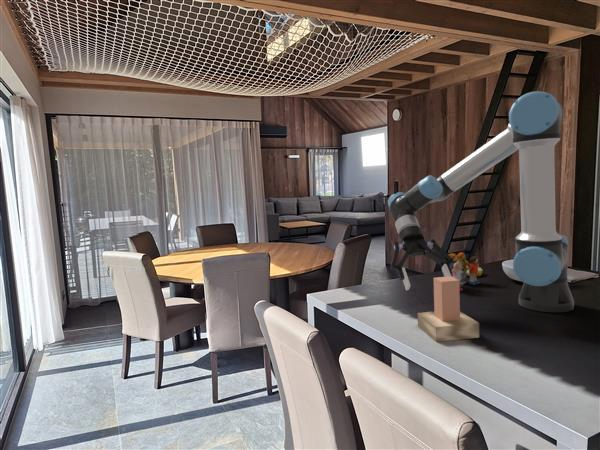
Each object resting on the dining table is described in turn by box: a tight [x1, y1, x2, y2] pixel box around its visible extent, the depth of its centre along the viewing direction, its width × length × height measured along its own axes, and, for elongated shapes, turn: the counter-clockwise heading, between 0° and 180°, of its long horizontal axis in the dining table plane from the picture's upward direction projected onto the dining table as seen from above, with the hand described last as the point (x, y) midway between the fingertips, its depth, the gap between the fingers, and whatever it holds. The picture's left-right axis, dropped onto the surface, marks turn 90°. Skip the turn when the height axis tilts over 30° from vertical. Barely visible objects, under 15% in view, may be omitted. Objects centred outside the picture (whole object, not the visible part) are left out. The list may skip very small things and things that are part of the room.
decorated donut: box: [466, 267, 484, 278], centre depth 175 cm, size 10×11×4 cm
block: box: [433, 276, 461, 321], centre depth 112 cm, size 5×5×11 cm
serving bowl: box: [501, 258, 524, 283], centre depth 159 cm, size 21×21×7 cm
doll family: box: [448, 252, 480, 292], centre depth 158 cm, size 21×10×13 cm, turn 132°
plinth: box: [417, 311, 480, 343], centre depth 112 cm, size 12×12×4 cm
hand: (429, 286), depth 122 cm, fingers open, 13 cm apart
